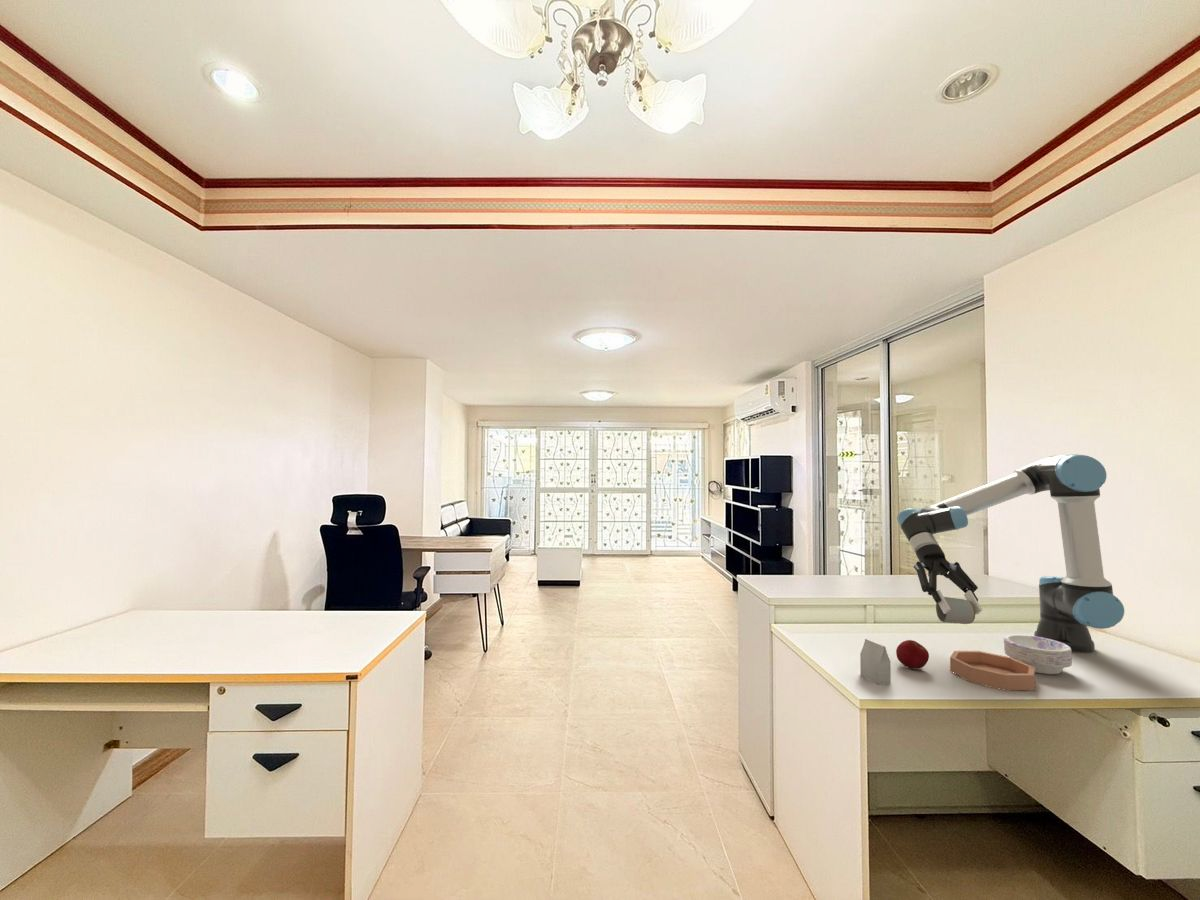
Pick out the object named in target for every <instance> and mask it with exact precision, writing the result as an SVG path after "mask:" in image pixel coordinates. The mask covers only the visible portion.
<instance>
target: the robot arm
mask: <svg viewBox="0 0 1200 900" xmlns="http://www.w3.org/2000/svg"><path fill="white" fill-rule="evenodd" d="M1106 480H1107V471H1106V469H1105V466H1104V465H1103V464H1102V463H1101V462H1100V461H1099V460H1098V459H1096V458H1094V457H1092V456H1090V455H1084V454H1078V453H1077V454H1065V455H1051V456H1047V457H1044V458H1041V459H1038V460H1036V461H1034V462H1031V463H1029V464H1027V465H1025V466H1022V467H1020V468H1018V469H1015V470H1014V471H1013V474H1010V475H1008V476H1005V477H1003V478H999V479H997V480H995V481H992V482H989V483H987V484H985V485H981V486H979V487H977V488H974V489H972V490H969V491H967V492H964V493H961V494H959V495H956V496H953V497H951V498H949V499H946V500H943V501H941V502H938V503H936V504H933V505H926V506H923V507H920V508H919V509H916V508H911V507H909V508H906V509H903V510H902V511H899V513H898V515H897V517H896V519H897V522H898V524H899V527H900V529H901V530H902V532H903V534H904V536H905V537H906V539H907V541H908V542H909V544H910V546H911V548H912V550H913V552H914V553H915V556H916V558H917V559H918V561H916V562H915V564H914V565H913V568H914V569H915V571H916V574H917V577H918V581H919V584H920V587H921V591H922V592H923V593H927V595H928V596H931V597H932V599H933V601H935V604H936V603H938V604H939V606H940V608H941V610H942V611H943V613H944V614H947V613H948V612H949V611H950V610H951V609H950V607H949V605H948V604H947V602H946V600H945V598H944V597H945V596H944V595H943V592H942V591H941V590H940V589H938V587H937V586H938V584H937V579H938V577H937V576H943V577H944V578H945V579H948V580H950V581H951V583H953V584H954V585H955V586H956V587H958V588H959V590H961V591H962V592H963V593H964V594H963V596H964V599H965V600H967V601H970V602H971V603H972V604H973V606H974V609H975V615H979V614H980V613H981V612H982V611H983V608H982V607H981V605H980V602H979V599H978V597H977V595H976V594H975V592H976V591H977V590H978V588H979V587H978V585H977V584H975V582H974V580H972V579H971V578H970V576H968V574H967V573H966V572H965V571H964V569H962V566H961V565H960V563H959V562H958V561H955V562H954V563H952V562H950V561H949V560H947V559H946V555H945V552H944V551H943V549H942V547H941V546H940V545H939V542H938V540H937V539H936V538H935V536H934V534H939V533H944V532H950V531H951V532H952V531H954V530H956V531H957V530H960V529H963V528H967V527H968V525H969V519H968V516H969V515H972V514H975V513H978V512H981V511H983V510H985V509H986V510H987V509H989V508H991V507H994V506H996V505H999V504H1002V503H1005V502H1007V501H1010V500H1013V499H1015V498H1017V497H1018V498H1019V497H1021V496H1023V495H1026V494H1027V495H1030V496H1031V495H1035V494H1037V493H1041V492H1046V491H1048V492H1049V495H1050V498H1052V499H1053V500H1055V502H1057V508H1058V516H1059V523H1060V525H1059V526H1060V533H1061V540H1062V549H1063V554H1064V555H1063V556H1064V562H1065V563H1064V564H1065V570H1066V571H1065V572H1066V576H1049V575H1048V576H1045V575H1043V576H1040V578H1039V584H1038V590H1039V595H1038V596H1039V613H1040V615H1039V618H1040V619H1039V621H1038V624H1037V627H1036V630H1035V631H1034V634H1033V636H1036V637H1042V638H1047V639H1051V640H1055V641H1058V642H1061V643H1064V644H1066V645H1068V646H1069V647H1070V648H1071V650H1072V651H1071V652H1076V653H1077V652H1078V653H1079V652H1080V653H1094V652H1095V650H1096V648H1095V647H1096V646H1095V642H1094V640H1093V639H1092V635H1091V633H1090V631H1089V628H1088V627H1090V628H1094V629H1098V630H1099V629H1100V630H1102V629H1103V630H1104V629H1110V628H1112V627H1115V626H1116V625H1117V624H1118V623H1120V622H1121V621H1122V620H1123V618H1124V616H1125V606H1124V605H1123V602H1122V600H1120V599H1119V598H1118V597H1117V596H1116V595H1114V591H1113V584H1112V582H1110V581H1109V580H1107V579H1106V578H1105V573H1104V567H1103V559H1102V551H1101V545H1100V535H1099V528H1098V527H1099V526H1098V521H1097V514H1096V513H1097V512H1096V504H1095V501H1096V500H1097V499H1099V498H1100V497H1101V491H1100V488H1101V487H1102V486H1103V485H1104V484H1105V482H1106ZM926 571H928V572H926ZM927 573H928V574H927Z"/></svg>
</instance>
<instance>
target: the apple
mask: <svg viewBox="0 0 1200 900" xmlns="http://www.w3.org/2000/svg"><path fill="white" fill-rule="evenodd" d="M895 654H896V658H897V660H898V661H899V663H900V664H901V665H903V666H904V667H906V668H909V669H911V670H919V669H922V668H923V667H924V666H926V665H927V663H928V661H929V659H930V653H929V651H928V650H927V648H926V647H925V646H924V645H922V644H921V643H919V642H917V641H915V640H912V639H906V640H903V641H902V642H901V643H900V644H898V646H897V647H896V651H895Z"/></svg>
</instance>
